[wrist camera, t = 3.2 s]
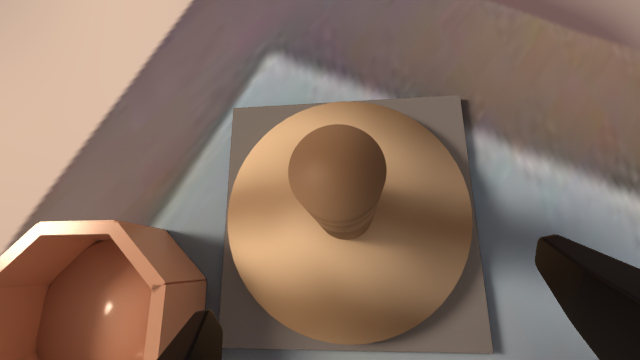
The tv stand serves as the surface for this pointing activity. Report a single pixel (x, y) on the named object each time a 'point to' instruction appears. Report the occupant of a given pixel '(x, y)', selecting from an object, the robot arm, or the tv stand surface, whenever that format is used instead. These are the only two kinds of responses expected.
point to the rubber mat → (429, 336)
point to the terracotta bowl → (95, 292)
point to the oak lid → (350, 223)
